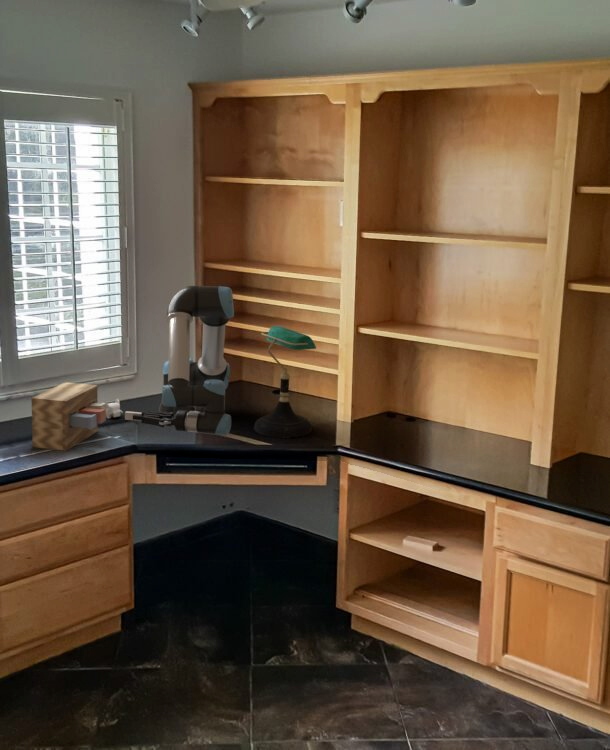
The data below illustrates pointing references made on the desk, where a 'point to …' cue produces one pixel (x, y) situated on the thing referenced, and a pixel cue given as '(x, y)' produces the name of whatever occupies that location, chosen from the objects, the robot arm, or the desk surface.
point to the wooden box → (61, 415)
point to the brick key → (99, 413)
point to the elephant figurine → (113, 409)
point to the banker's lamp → (285, 390)
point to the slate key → (82, 420)
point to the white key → (97, 406)
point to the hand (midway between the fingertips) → (125, 415)
